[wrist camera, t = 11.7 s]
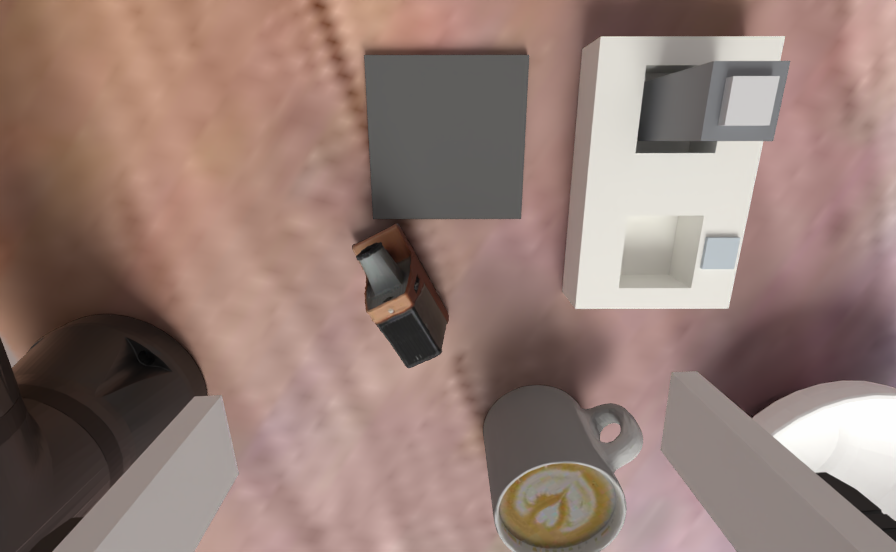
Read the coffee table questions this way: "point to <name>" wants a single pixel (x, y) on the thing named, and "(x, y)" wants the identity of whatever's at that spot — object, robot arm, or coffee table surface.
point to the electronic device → (401, 296)
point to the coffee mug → (556, 470)
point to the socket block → (654, 183)
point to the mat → (446, 135)
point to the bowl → (842, 434)
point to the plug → (714, 102)
